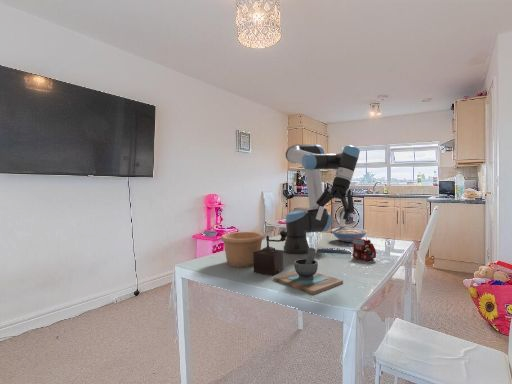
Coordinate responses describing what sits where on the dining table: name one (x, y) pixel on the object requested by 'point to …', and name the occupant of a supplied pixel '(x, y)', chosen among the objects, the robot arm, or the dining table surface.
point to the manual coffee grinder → (269, 258)
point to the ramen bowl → (348, 233)
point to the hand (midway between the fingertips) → (329, 222)
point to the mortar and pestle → (306, 266)
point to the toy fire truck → (363, 249)
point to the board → (308, 282)
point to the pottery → (241, 247)
